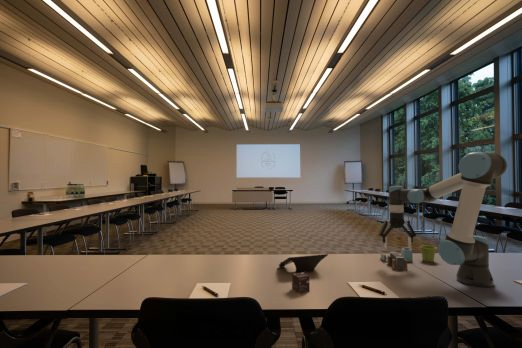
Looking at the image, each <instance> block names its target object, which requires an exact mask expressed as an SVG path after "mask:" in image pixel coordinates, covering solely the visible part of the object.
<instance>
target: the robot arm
mask: <svg viewBox="0 0 522 348" xmlns="http://www.w3.org/2000/svg"><path fill="white" fill-rule="evenodd" d="M507 168H508V162H507V160H506V159H505V157H504V156H502V155H501V154H499V153H494V152H483V151H481V152H480V151H475V152H469V153H467V154H466V155H464V156H463V157H462V158H461V159H460V160H459V163H458V171H459V173H457V174H455V175H452V176H450V177H448V178H446V179H443V180H442V181H439V182H437V183H434V184H431V185H430V186H428V187H426V188H413V189H412V188H411V189H410V188H407V189H404V187H403V186H402V185H390V186H389V187H388V199H389V211H390V212H389V220H386V219H384V222H383V225H382V227H381V229H380V231H379V234H378V235H379V236H380V237H381V238H382V240H381V241H382V243H383V245H384V246H383V247H384V249H386V250H387V249H388V237H387V236H388V235H389V234H390V232H391V231H392V230H393V229H402V230H403V231H404V232H405V233H406V235H408V236H407V244H408V245H407V247H408V248H409V249H411V250H412V244H413V243H414V237H416V236H417V234H416V232H415V231H414V228H413V226H412V225H411V220H409V219H406V220H405V216H404V212H405V210H404V203H411V204H420V203H431V202H435V201H437V199H439V198H441V197H444V196H446V195H449V194H451V193H454V192H456V191H458V190H461V191H460V195H459V199H458V203H457V206H456V209H455V210H456V211H455V214H454V220H453V223H452V226H451V230H449V231H447V232H446V234H445V239H443V240H442V241H440V243H439V244H438V246H437V252H438V255H439V256H440V258H441V259H442V261H443V262H445V263H446V264H448V265H452V266H458V270H457V272H456V275H455V276H456V280H457V281H458V282H460V283H461V284H465V285H467V286H472V287H473V286H474V287H481V288H483V287H484V288H490V287H494V281H495V280H494V277H493V275H492V273H491V271H490V265H489V263H490V260H489V259H490V255H489V253H490V244H489V239H488V238H487V237H484V236H480V235H474V232H475V228H476V225H477V222H478V217H479V214H480V210H481V207H482V203H483V200H484V196H485V192H486V189H487V188H489V187H490V186H491V185H492V183H493V180H494V179H496V178H499V177H501V176H503V175H504V174H505V173H506V171H507ZM405 224H406V226H407V227H406V226H405ZM388 225H389V226H388ZM407 228H408V229H407Z"/></svg>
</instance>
